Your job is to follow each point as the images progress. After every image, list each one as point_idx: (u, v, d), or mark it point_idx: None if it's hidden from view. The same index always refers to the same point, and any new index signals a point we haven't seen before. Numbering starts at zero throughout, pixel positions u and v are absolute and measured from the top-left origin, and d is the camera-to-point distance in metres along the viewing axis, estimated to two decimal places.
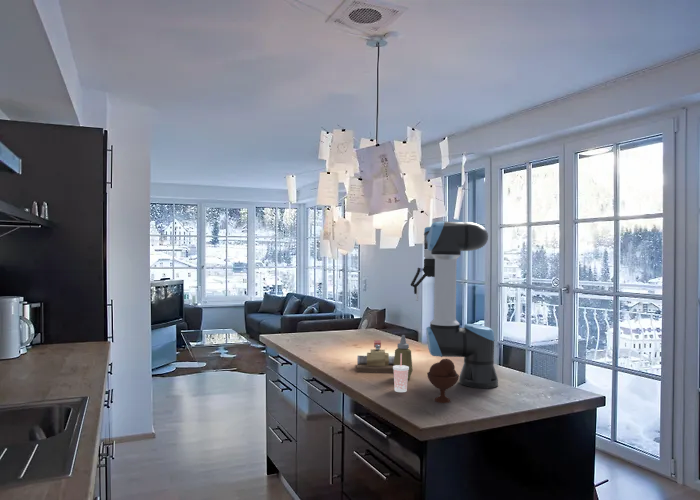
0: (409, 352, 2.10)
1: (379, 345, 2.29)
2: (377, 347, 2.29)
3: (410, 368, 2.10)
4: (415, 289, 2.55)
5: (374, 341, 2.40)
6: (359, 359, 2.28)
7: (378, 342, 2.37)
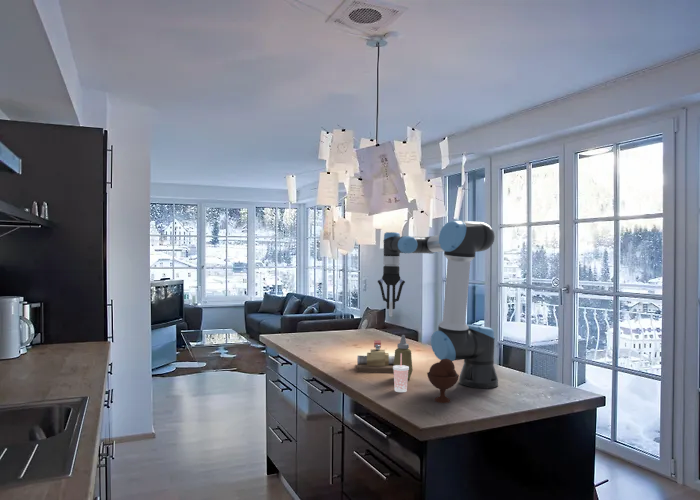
0: (409, 352, 2.10)
1: (379, 345, 2.29)
2: (377, 347, 2.29)
3: (410, 368, 2.10)
4: (387, 304, 2.39)
5: (374, 341, 2.40)
6: (359, 359, 2.28)
7: (378, 342, 2.37)
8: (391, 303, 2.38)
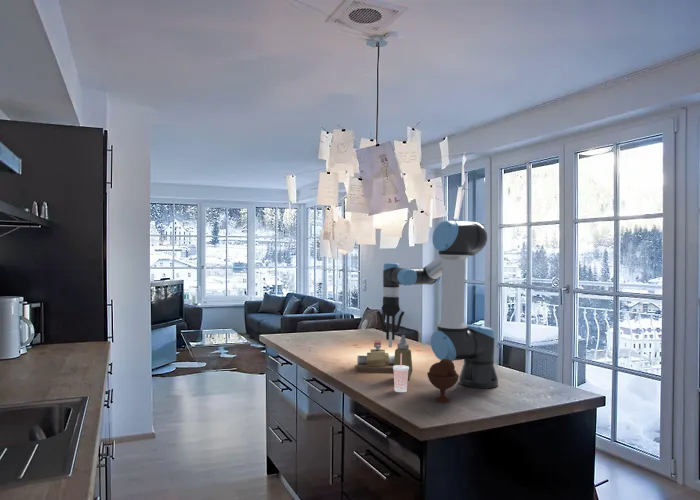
0: (409, 352, 2.10)
1: (379, 345, 2.29)
2: (377, 347, 2.29)
3: (410, 368, 2.10)
4: (387, 335, 2.39)
5: (374, 341, 2.40)
6: (359, 359, 2.28)
7: (378, 342, 2.37)
8: (391, 334, 2.38)
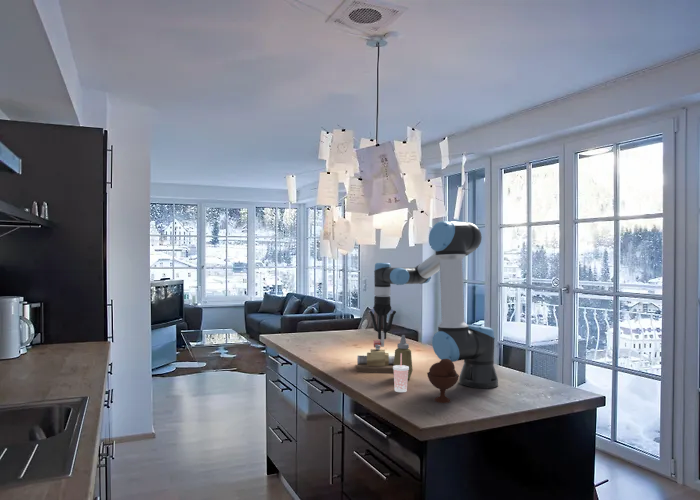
0: (409, 352, 2.10)
1: (379, 345, 2.29)
2: (377, 347, 2.29)
3: (410, 368, 2.10)
4: (379, 334, 2.39)
5: (374, 341, 2.40)
6: (359, 359, 2.28)
7: (378, 342, 2.37)
8: (383, 333, 2.39)
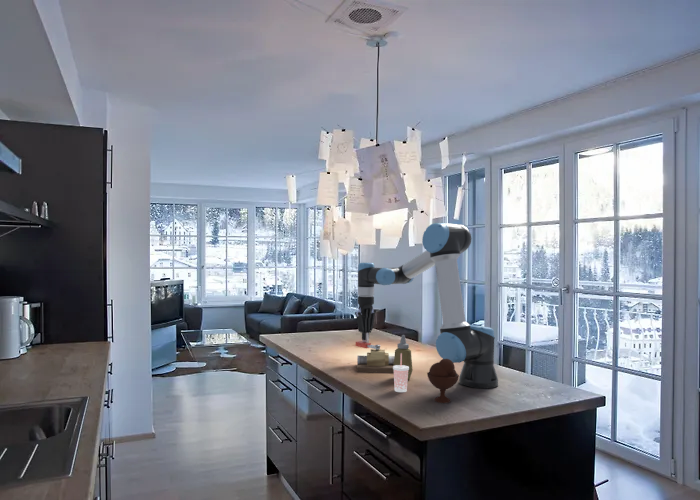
0: (409, 352, 2.10)
1: None
2: (378, 347, 2.29)
3: (410, 368, 2.10)
4: (364, 335, 2.37)
5: (360, 342, 2.36)
6: (359, 359, 2.28)
7: (366, 342, 2.36)
8: (367, 333, 2.38)
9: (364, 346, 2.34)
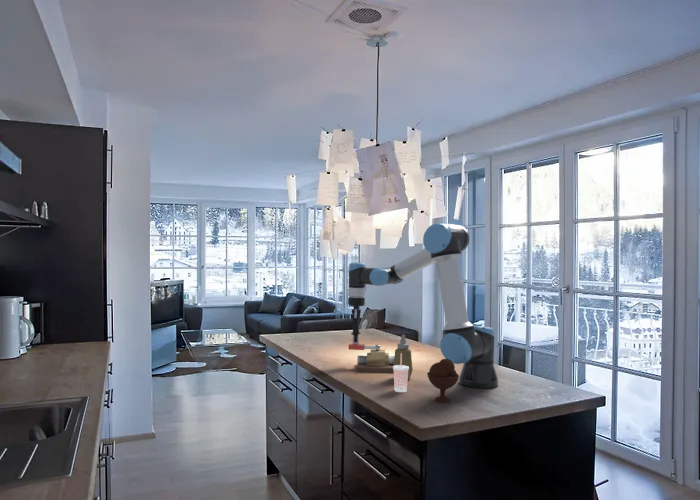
0: (409, 352, 2.10)
1: None
2: (379, 347, 2.29)
3: (410, 368, 2.10)
4: (357, 337, 2.32)
5: (355, 345, 2.30)
6: (359, 359, 2.28)
7: (360, 344, 2.31)
8: (358, 335, 2.33)
9: (361, 348, 2.29)
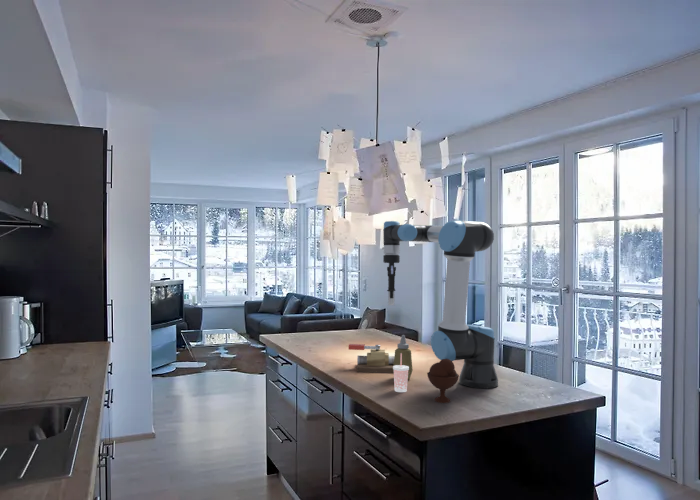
0: (409, 352, 2.10)
1: None
2: (379, 347, 2.29)
3: (410, 368, 2.10)
4: (393, 293, 2.38)
5: (355, 345, 2.30)
6: (359, 359, 2.28)
7: (360, 344, 2.31)
8: None
9: (361, 348, 2.29)
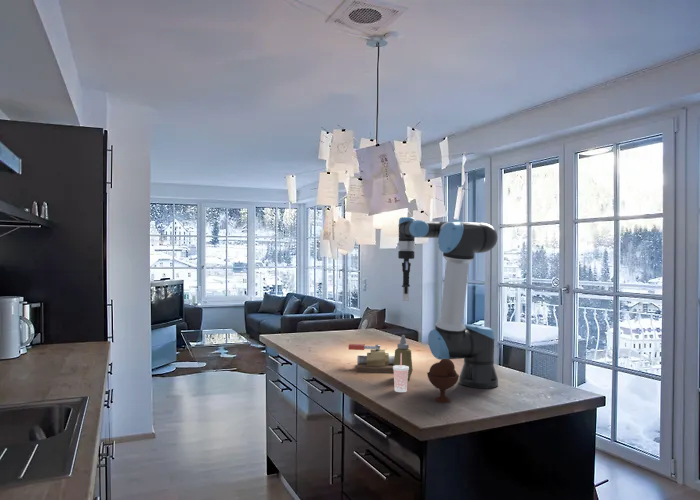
0: (409, 352, 2.10)
1: None
2: (379, 347, 2.29)
3: (410, 368, 2.10)
4: (407, 289, 2.40)
5: (355, 345, 2.30)
6: (359, 359, 2.28)
7: (360, 344, 2.31)
8: (408, 287, 2.41)
9: (361, 348, 2.29)
